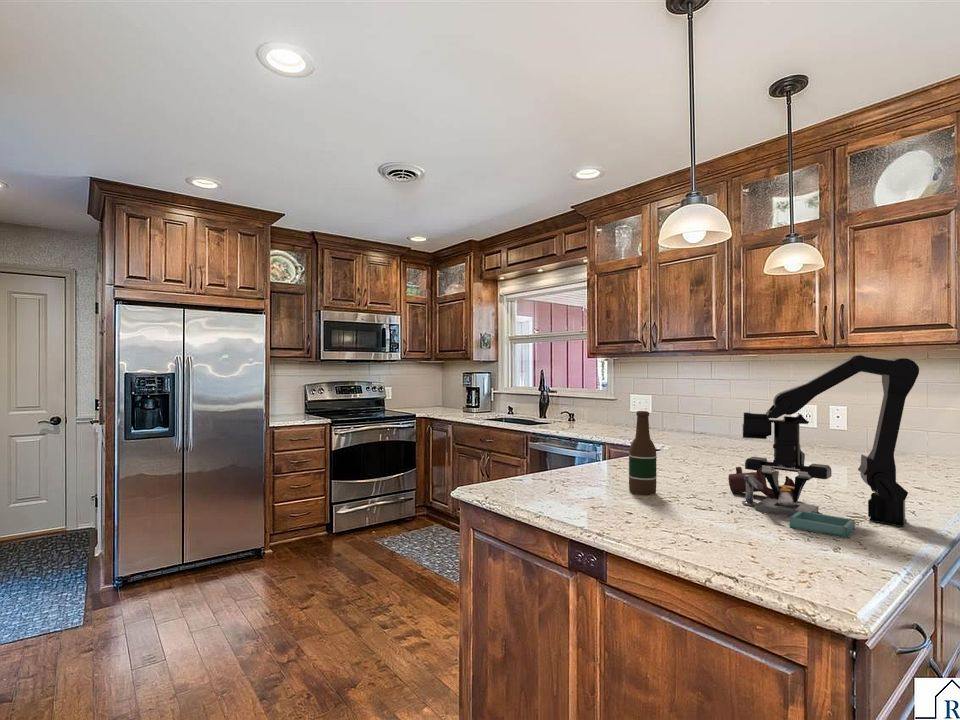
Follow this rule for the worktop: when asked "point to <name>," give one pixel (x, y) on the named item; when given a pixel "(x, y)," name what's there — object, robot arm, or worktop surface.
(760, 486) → the bar
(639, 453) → the beer bottle
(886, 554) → the worktop surface
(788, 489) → the jar with golden lid
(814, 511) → the hitch plate
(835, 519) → the tray
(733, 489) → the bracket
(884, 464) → the robot arm
